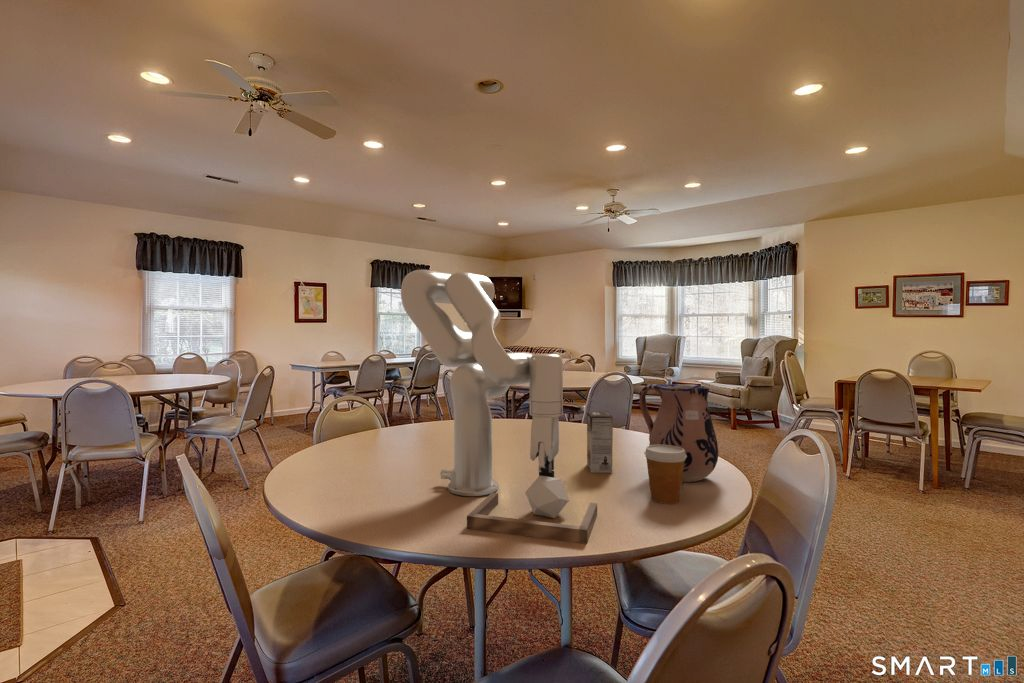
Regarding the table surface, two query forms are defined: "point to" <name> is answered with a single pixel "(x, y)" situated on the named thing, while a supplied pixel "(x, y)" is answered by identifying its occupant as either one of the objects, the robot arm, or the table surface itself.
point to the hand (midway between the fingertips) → (546, 488)
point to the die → (547, 496)
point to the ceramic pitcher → (684, 426)
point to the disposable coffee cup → (665, 472)
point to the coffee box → (599, 441)
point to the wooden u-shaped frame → (530, 523)
